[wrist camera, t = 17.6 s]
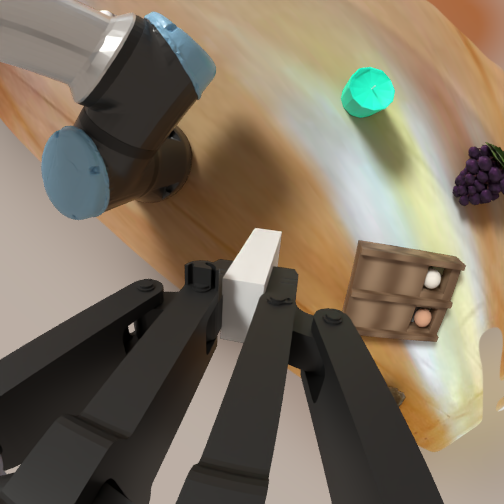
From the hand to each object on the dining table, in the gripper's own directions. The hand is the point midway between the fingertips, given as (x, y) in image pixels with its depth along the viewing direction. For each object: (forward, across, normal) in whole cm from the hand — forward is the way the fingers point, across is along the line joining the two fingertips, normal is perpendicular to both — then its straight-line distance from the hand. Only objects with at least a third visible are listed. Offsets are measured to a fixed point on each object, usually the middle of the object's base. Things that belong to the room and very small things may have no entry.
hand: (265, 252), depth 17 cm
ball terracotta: (+31, +28, -20) cm, 46 cm away
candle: (+33, +9, +15) cm, 37 cm away
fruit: (+33, +32, +8) cm, 47 cm away
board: (+32, +22, -16) cm, 42 cm away
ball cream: (+31, +27, -12) cm, 43 cm away
